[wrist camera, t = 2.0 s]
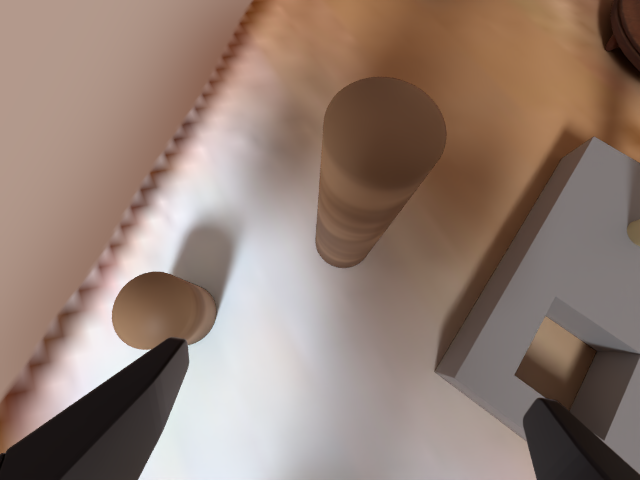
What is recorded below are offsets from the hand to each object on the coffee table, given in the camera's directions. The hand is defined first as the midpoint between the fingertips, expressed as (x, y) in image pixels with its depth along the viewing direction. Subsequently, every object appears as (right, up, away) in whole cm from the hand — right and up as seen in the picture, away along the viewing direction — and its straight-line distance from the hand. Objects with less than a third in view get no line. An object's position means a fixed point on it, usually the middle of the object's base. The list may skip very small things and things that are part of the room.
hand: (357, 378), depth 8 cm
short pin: (-10, -1, +13) cm, 17 cm away
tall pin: (+1, +3, +15) cm, 16 cm away
